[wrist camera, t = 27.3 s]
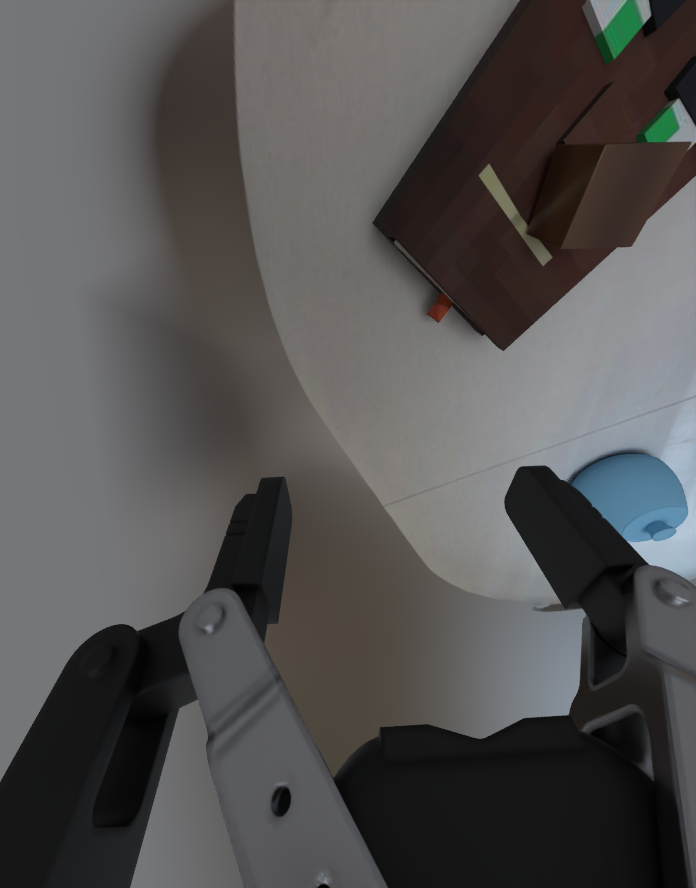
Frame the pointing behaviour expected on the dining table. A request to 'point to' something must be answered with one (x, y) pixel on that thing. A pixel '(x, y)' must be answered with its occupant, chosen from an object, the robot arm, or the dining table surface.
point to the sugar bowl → (635, 495)
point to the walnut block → (602, 192)
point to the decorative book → (538, 150)
